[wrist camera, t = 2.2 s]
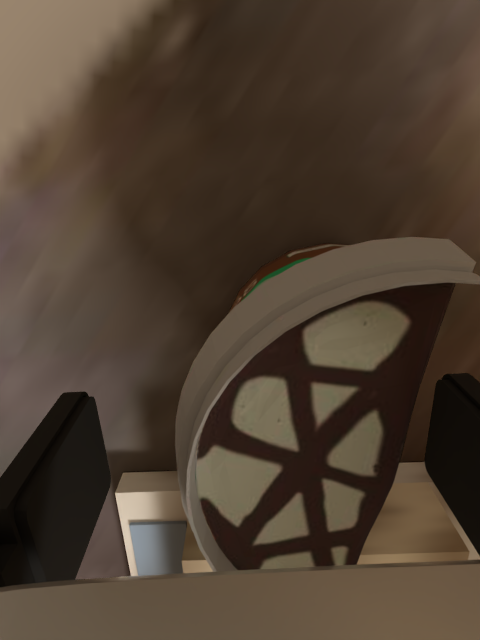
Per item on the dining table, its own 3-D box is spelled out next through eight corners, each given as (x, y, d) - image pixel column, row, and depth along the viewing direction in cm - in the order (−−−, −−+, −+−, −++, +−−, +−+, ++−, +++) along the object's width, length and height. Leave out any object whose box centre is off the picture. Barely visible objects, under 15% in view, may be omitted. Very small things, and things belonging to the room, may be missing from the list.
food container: (218, 187, 17) (190, 206, 8) (359, 210, 17) (500, 255, 8) (187, 430, 21) (144, 634, 12) (301, 445, 22) (348, 655, 12)
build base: (489, 459, 22) (567, 548, 17) (454, 633, 27) (505, 743, 21) (122, 472, 22) (87, 563, 17) (153, 641, 27) (132, 752, 22)
